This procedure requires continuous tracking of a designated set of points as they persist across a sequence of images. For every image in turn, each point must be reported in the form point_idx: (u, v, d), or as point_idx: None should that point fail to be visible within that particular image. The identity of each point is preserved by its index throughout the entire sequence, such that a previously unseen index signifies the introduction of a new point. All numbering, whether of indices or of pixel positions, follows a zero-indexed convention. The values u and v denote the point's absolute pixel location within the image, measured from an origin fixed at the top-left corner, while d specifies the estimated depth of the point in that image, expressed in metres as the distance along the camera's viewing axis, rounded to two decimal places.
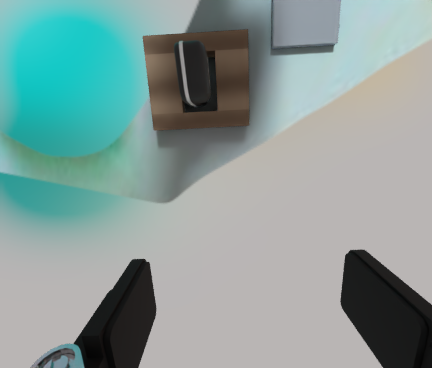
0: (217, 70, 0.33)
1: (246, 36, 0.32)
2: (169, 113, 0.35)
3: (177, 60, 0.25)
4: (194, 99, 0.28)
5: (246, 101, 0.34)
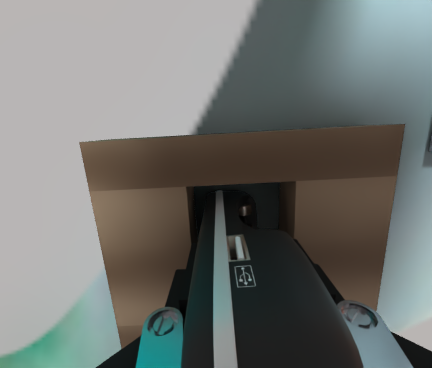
0: (299, 230, 0.12)
1: (396, 143, 0.10)
2: None
3: None
4: None
5: (370, 301, 0.13)
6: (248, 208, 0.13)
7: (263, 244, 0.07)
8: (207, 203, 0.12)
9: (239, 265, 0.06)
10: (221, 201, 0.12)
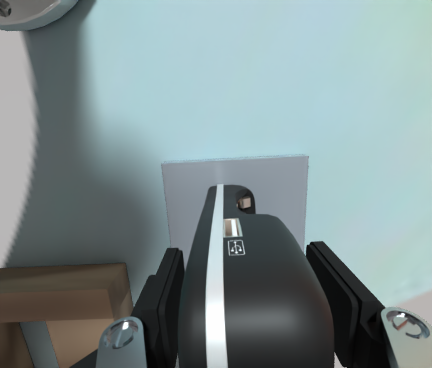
0: (57, 350, 0.16)
1: (106, 300, 0.15)
2: None
3: None
4: None
5: None
6: (247, 201, 0.14)
7: (255, 225, 0.08)
8: (208, 195, 0.13)
9: (232, 240, 0.07)
10: (221, 193, 0.13)
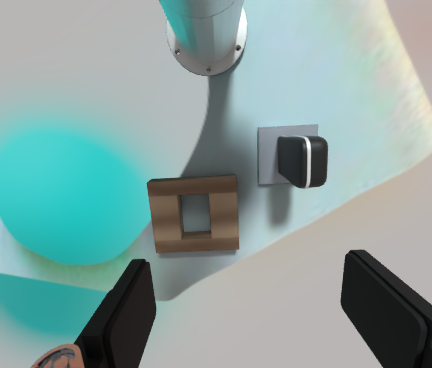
0: (211, 208, 0.38)
1: (235, 183, 0.37)
2: (170, 239, 0.40)
3: (304, 158, 0.27)
4: (309, 187, 0.29)
5: (236, 231, 0.39)
6: None
7: None
8: (282, 137, 0.35)
9: (304, 136, 0.29)
10: (287, 136, 0.35)
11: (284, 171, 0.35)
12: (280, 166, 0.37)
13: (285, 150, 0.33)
